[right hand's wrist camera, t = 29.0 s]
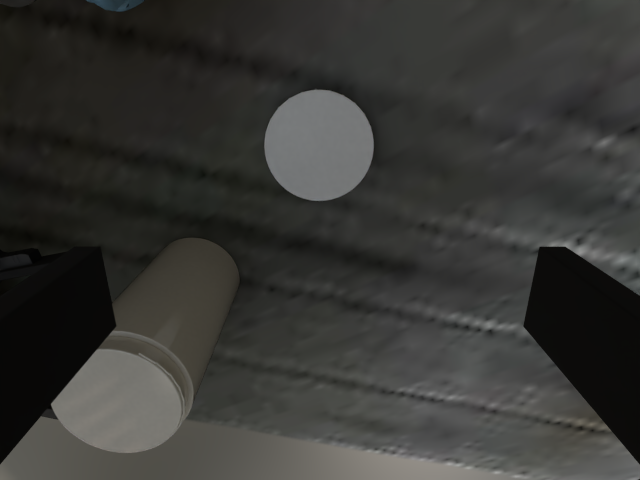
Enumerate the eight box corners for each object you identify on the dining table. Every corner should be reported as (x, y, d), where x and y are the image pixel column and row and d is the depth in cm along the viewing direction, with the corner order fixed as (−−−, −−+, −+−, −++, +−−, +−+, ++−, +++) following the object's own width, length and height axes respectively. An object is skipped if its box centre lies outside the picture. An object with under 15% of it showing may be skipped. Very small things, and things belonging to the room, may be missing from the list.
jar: (212, 328, 48) (146, 476, 30) (138, 285, 46) (20, 416, 28) (256, 268, 46) (213, 391, 27) (180, 220, 44) (79, 318, 25)
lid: (332, 64, 38) (332, 63, 37) (392, 157, 41) (395, 160, 40) (244, 132, 40) (241, 134, 39) (307, 216, 43) (307, 221, 42)
